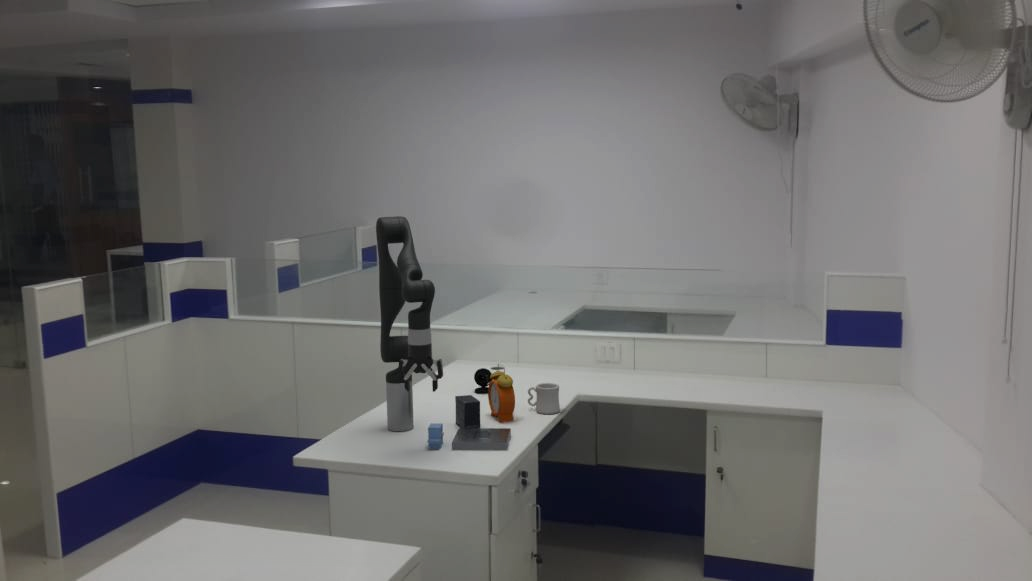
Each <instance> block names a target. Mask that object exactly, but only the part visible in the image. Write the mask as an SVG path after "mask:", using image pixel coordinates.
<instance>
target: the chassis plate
mask: <svg viewBox="0 0 1032 581" xmlns="http://www.w3.org/2000/svg"><path fill="white" fill-rule="evenodd" d="M511 432H512V429H511V428H509V427H508V428H506V427H505V428H504V427H502V428H499V427H498V428H495V427H494V428H493V427H491V428H487V427H480V428H460V427H459V428H458V429H457V431H456V433H455V435H454V437H453V439H452V442H451V450H452V451H456V450H457V451H508V447H509V444H510V441H509V440H511V437H512V433H511ZM510 436H511V437H510Z"/></svg>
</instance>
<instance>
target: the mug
mask: <svg viewBox="0 0 1032 581" xmlns="http://www.w3.org/2000/svg"><path fill="white" fill-rule="evenodd" d="M532 390H533V391H534V392H535V393H536V401H535V402H534V403H532V402H531V401H532V400H533V398H534V395H533V394H532V393H531V391H532ZM559 392H560V385H559V384H557V383H553V382H542V383H537V384H536V385H535V387H534V386H532V387H531V386H530V388H528V390H527V395H528V396H530V397H529V398H528V399H527V403H528V405H529V406H530V407H531V406H532V407H535V411H536V412H537V413H539V414H542V415H553V414H557V413H559V412H560V410H561V408H560V397H559V396H560V394H559Z"/></svg>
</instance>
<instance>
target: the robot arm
mask: <svg viewBox="0 0 1032 581" xmlns="http://www.w3.org/2000/svg"><path fill="white" fill-rule="evenodd" d="M375 234H376V235H375V236H376V244H377V254H378V255H377V256H378V271H379V272H378V276H379V277H378V286H379V287H378V290H379V292H378V293H379V307H380V345H379V346H380V350H379V351H380V358H381V360H382V362H383V363H398V367H396V368H394V369H392V370H389V371H388V372H387V373H386V374H385V393H386V420H387V421H386V422H387V423H386V424H387V430H388V431H392V432H406V431H410V430H413V429H414V425H415V424H414V423H415V422H414V399H413V398H414V397H413V396H414V395H413V393H414V391H413V373H414V374H426V373H427V375H428V376H429V377H430V378H431V379H432V381H431V383H432V384H431V386H432V392H433V393H434V392H436V390H438V387H439V380H441V379H442V378H443V376H444V369H443V368H444V366H443V359H442V358H439V359H433V347H432V346H433V345H432V342H433V340H432V330H431V312H432V311H431V310H432V306H433V303H434V299H435V294H436V288H435V284H434V283H433V281H431V280H430V279H423V276H424V275H423V274H424V273H423V270H422V267H421V265H420V263H419V260H418V258H417V254H416V250H415V243H414V238H413V234H412V230H411V226H410V223H409V221H408V219H407V217H405V216H401V215H400V216H399V215H398V216H381V217H378V218H377V220H376V225H375ZM401 243H402V244H403V245H402V248H401V250H400V252H399V254H398V256H397V259H396V264H395V261H394V260H393V259H392V258H393V257H392V256H391V254H390V250H389V244H390V245H391V244H401ZM406 303H408V304H412V303H413V304H415V303H421V305H420V306H419V307H417V308H414V309H411V310H409V311H408V314H407V324H408V325H407V326H408V328H407V329H408V332H407V335H391V334H390V333H391V330H392V327H393V324H394V323H395V320H396V319H397V317H398V315H399V314H400V312H401V311H402V309H403V307H404V306H405V304H406ZM433 365H435V367H437V373H436V372H435V370H434V369H433V367H432V366H433Z"/></svg>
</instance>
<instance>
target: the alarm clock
mask: <svg viewBox="0 0 1032 581" xmlns="http://www.w3.org/2000/svg"><path fill="white" fill-rule="evenodd" d="M500 366H502V367H503V371H501V370H500V368H499V367H500ZM499 370H500V371H499ZM505 370H506V369H505V366H504V365H502V364H500V363H498V364H497V370H495V371H494V372H491V373H492V374H491V376H490V379H491V380H492V381H491V382H489V383H490V384H489V383H488V384H489V385H488V387H489V388H488V394H487V398H488V404H489V408H490V411H491V412H490V417H491V418H496V417H497V422H498V423H500V424H501V423H509V422H514V421H515V419H514V414H513V413H514V411H515V407H516V395H515V389H514V387H513V385H514V380H513V377H512V376H510V375H509V374H506V372H505Z"/></svg>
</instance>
